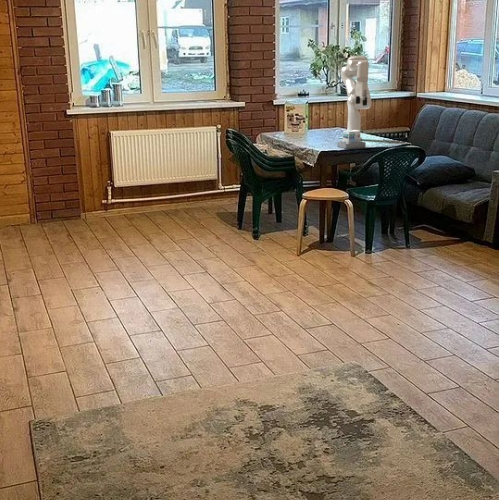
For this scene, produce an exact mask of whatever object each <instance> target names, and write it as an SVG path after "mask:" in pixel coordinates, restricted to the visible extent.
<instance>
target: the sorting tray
mask: <svg viewBox="0 0 499 500" xmlns="http://www.w3.org/2000/svg"><path fill="white" fill-rule="evenodd" d="M366 144H367V143H366V142H365V141H362V140H360V143H351V144H345V143H343V140H342V141H341V140H340V141H337V148H339V149H343V148H344V149H343V150H352V149H365V148H367V147H366V146H367V145H366Z"/></svg>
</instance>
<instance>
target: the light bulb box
mask: <svg viewBox="0 0 499 500" xmlns="http://www.w3.org/2000/svg"><path fill="white" fill-rule="evenodd" d="M342 132H343V133H342V141H343V143H345V144H351V143H360V141H361V140H360V137H361V130H360V131H358V130H347V129H346V130H343V131H342Z"/></svg>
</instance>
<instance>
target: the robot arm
mask: <svg viewBox="0 0 499 500" xmlns="http://www.w3.org/2000/svg"><path fill="white" fill-rule="evenodd" d="M369 69H370V62H369V59H368V57H367V56H366V55H351V56H350V57H348V58H347V62H346V66H342V68H341V69H340V77H341V81H342V83H343V84H344V85H345V91H346V93H347V97H348V98H347V101H346V104H347V129H346V131H347V130H358V131H361V127H362V126H361V123H362V122H361V121H362V115H361V112H360V111H359V110H369V109H371V107H372V98H371V94H370V90H369V86H368V85H369V84H368V82H369ZM354 78H356V80H355V79H354ZM362 140H363V137H361V136H360V141H362Z"/></svg>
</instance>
